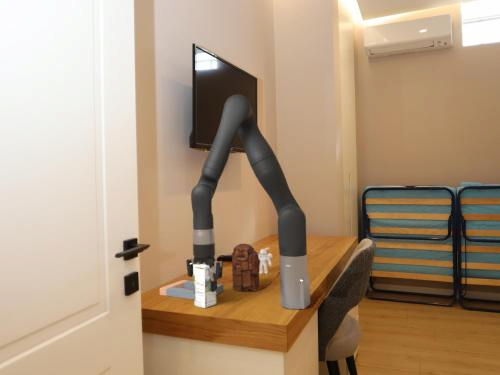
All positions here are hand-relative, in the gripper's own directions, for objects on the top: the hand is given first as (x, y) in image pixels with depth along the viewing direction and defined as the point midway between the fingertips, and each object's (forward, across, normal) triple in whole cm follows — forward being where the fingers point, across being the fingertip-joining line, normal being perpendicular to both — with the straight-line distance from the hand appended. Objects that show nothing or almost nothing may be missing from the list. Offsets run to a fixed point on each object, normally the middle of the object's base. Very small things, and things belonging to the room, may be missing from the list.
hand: (205, 290), depth 136 cm
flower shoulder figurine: (+5, +3, -51) cm, 51 cm away
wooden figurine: (+5, -3, -23) cm, 24 cm away
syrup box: (+5, 0, 0) cm, 5 cm away
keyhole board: (+5, +14, -11) cm, 18 cm away
